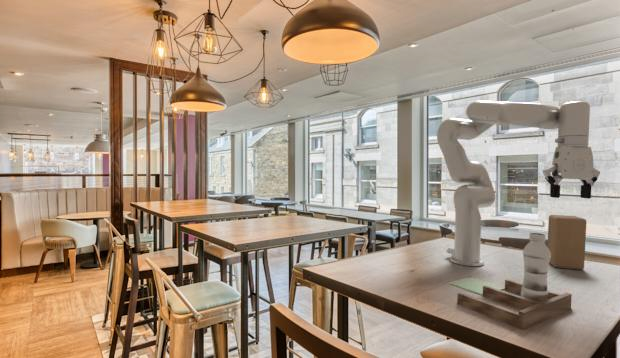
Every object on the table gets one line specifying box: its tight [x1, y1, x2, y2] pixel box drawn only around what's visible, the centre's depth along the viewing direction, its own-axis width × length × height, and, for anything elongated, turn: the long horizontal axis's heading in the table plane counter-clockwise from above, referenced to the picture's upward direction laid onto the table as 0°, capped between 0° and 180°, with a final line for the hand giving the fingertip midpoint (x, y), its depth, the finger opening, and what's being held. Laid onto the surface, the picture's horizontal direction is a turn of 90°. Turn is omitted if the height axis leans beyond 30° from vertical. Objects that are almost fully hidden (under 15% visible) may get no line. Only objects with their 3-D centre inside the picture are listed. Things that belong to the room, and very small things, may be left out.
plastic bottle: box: [519, 232, 551, 303], centre depth 94 cm, size 6×7×20 cm
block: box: [546, 214, 587, 271], centre depth 136 cm, size 10×10×20 cm
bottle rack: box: [456, 278, 573, 331], centre depth 93 cm, size 17×26×4 cm
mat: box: [447, 276, 506, 296], centre depth 109 cm, size 12×12×1 cm
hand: (570, 197), depth 105 cm, fingers open, 9 cm apart
